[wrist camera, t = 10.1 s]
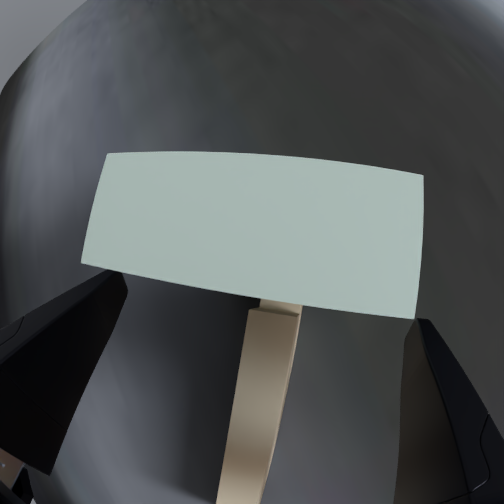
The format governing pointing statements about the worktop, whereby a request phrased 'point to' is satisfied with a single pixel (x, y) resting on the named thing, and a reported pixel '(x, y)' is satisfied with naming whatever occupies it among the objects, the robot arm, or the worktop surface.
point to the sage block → (263, 227)
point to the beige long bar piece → (258, 400)
